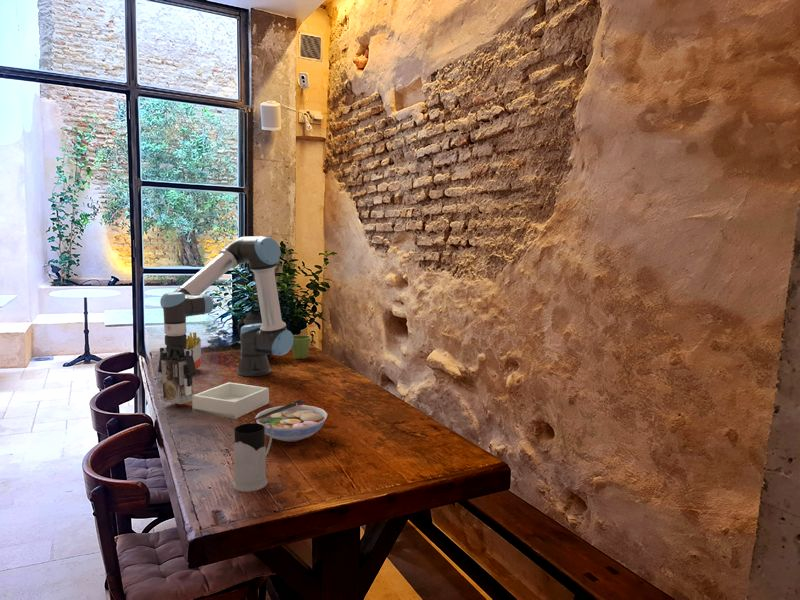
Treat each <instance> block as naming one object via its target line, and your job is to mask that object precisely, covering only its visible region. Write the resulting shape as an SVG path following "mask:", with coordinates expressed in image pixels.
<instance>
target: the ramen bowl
mask: <svg viewBox="0 0 800 600" xmlns="http://www.w3.org/2000/svg"><path fill="white" fill-rule="evenodd" d="M305 403H306V400H302V399H297V400H295V401H292V402H291V403H288V404H286V405H278V406H273V407H270V408H266V409H264V410H262V411H260V412H258V413H257V414H256V415H255V417H254V418H252V419H250V420H248V421H247V423H251V422H254V421H256V423H258V424H262V425H265V424H266V423H270V424H272V427H273V436H272V439H274V440H278V441H282V442H286V443H293V442H299V441H302V440H304V439H306V438H310V437H311V436H313V435H315V434H316V433H317V432H319V431H320V429H321V428H322V427H323V426H324V425H325V422H326V420H327V418H328V414H329V413H328V412H326V410H324V409H323V408H320V407H317V406H312V405H306V404H305ZM265 435H267V436H268V437H270V426H269V424H268V425H267V426H266V428H265Z"/></svg>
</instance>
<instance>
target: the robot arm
mask: <svg viewBox="0 0 800 600" xmlns="http://www.w3.org/2000/svg"><path fill="white" fill-rule="evenodd" d="M280 257H281V247H280V245H279V243H278V242H277V240H275V239H274V238H273V237H269V236H265V235H264V236H260V235H259V236H254V235H253V236H249V235H248V236H247V235H246V236H245V235H244V236H240V237H238V238H236V239H234V240H232V241H231V242H229V243H228V244H226V245H225V246H224V247H223V248H221V249H220V250H219V251H218V255H217V256H216V257H214V258H213V259H212V260H211V261H210V262H209V263H207V264H206V265H204V266H203V267H202V268H201V269H200V270H199V271H198V272H196V273H195V274H194V275H193V276H191V277H190V278H189V279H187V281H185V282H184V283H182V285H180V286H179V287H178V288H177V289H175V290H174V291H171V292H166V293H164V294H162V296H161V297H160V301H159V302H160V303H159V304H160V306H161V308H162V310H163V327H164V328H163V331H164V334H165V335H164V345H165V346H163V347H160V348H159V361H158V362H159V366H158V367H157V373H159V374H162V364H161V360H164V359H167V360H170V359H177V360H178V361H182V360H185V359H186V362H187V365H183V368H184V374H185V376H186V377H185V378H184V390H185V395H186V396H187V395H189V394H192V390H193V389H192V390H191V386H192V387H193V378H194V377H196V376H197V375H198V374H197V373H198V372H197V369H196V368H195V364H194V359H193V350H187V349H186V347H185V345H186V343H187V337H188V335H187V334H185V333H187V318H188V317H193V316H200V315H201V316H202V315H206V314H210V313H211V312H212V311H213V310H214V307H215V305H214V300H213V298H212V297H211V296H210V295H208V294H203V293H204V292H205V291H206V290H207V289H208V288H209V287H211V286H212V285H214V283H215V282H217V281H218V280H219V279H220V278H221V277H223V275H225V274H226V273H227V272H228V271H229V270H230V269H235V268H237V267H238V266H239V265H241V264H248V265H249V267H248V268H249V270H250V271H251V272H253V274H254V279H255V280H254V281H255V285H256V286H255V287H256V292H257V298H258V299H257V300H258V304H259V310H260V311H259V312H260V313H261V317H262V323H261V324H251V325H245V324H244V326H243V327H242V328H241V334H239V336H240V352H241V355H240V359H239V363H238V365H237V370H236V371H237V375H239V376H241V377H260V376H266V375H269V374H271V369H272V368H271V365H270V361H269V360H268V359H267V353H268V354H272V356H273V355H274V356H285V355H286V354H288V353H289V352H290V351H291V350H292V345H293V336H294V334H293V333H292V331H290V330H288V329H287V324H286V322H285V321H283V320H282V319H283V318H282V314H281V313H282V312H281V306H280V300H279V299H280V298H279V295H278V287H277V281H276V274H275V273H276V272H275V269H276V268H277V266H278V262H279V260H280ZM167 354H168V355H167ZM181 358H182V359H181ZM188 374H189V375H188Z"/></svg>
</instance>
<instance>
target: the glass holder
mask: <svg viewBox="0 0 800 600" xmlns="http://www.w3.org/2000/svg"><path fill="white" fill-rule="evenodd" d="M268 424H269V426H270V436H269V439H268V440H269V441H268V445H267V447H266V443H265V442H266V441H265V439H266V438H265V437H266V436H265V435H266V434H265V428H266V426H267V425H268ZM233 432H234V433H233V434H234V443H233V457H234V458H233V461H234V462H233V463H234V464H233V465H234V466H233V468H234V469H233V471H234V472H233V473H234V474H233V475H234V481H233V483H232V488H233V489H234V490H235V491H239V492H255V491H258V490H261V489H264V488H265V487H266V486H267V485H268V483H269V481H268V479H267V477H266V475H267V472H266V471H267V469H266V467H267V466H266V462H267V460H266V458H267V455H268V454H269V451H270V448H271V446H272V442H273V438H272V436H273V427H272V424H270V423H266V424H265V425H262V424H258V423H257V422H254V423H253V422H252V423H251V422H247V423H242V424H240V425H237V426H235V427H234V431H233Z"/></svg>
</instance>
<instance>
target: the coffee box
mask: <svg viewBox="0 0 800 600" xmlns="http://www.w3.org/2000/svg"><path fill="white" fill-rule="evenodd" d="M181 359H182V358H181ZM161 364H162V373H161V375H162V376H161V379H162V395H163V402H166V403H173V404H175V405H183V404H185V403H189V402H192V395H194V392H193V385H192V386H191V390H192V394H189V395H187V396H186V395H185V390H184V378H185V377H186V376H185V374H184V368H183V365H187V362H186V359H185V360H182V361H178V360H177V359H170V360H167V359H164V360H161ZM188 375H189V374H188Z"/></svg>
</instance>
